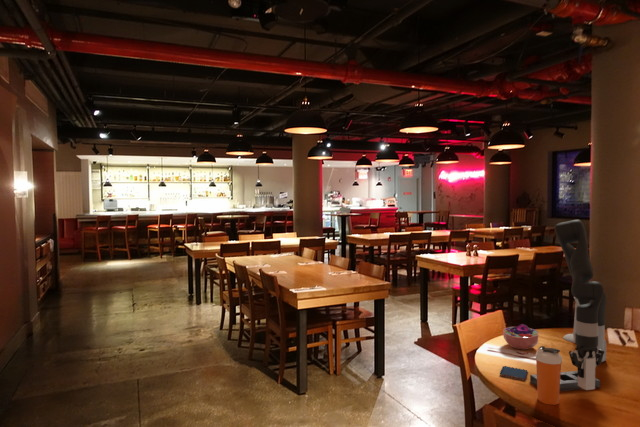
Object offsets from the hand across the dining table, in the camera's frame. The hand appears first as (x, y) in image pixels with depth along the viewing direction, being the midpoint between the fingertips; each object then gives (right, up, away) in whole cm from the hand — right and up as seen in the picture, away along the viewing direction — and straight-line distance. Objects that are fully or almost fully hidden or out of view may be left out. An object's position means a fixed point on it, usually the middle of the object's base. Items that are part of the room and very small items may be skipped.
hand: (586, 376), depth 166 cm
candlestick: (+36, -6, +66) cm, 76 cm away
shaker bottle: (-16, -8, -2) cm, 18 cm away
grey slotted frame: (-2, -8, +11) cm, 14 cm away
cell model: (0, -6, +55) cm, 56 cm away
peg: (0, -4, 0) cm, 4 cm away
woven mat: (-18, -8, +22) cm, 29 cm away
